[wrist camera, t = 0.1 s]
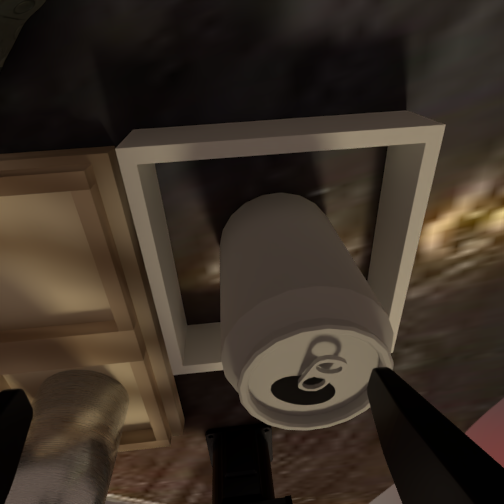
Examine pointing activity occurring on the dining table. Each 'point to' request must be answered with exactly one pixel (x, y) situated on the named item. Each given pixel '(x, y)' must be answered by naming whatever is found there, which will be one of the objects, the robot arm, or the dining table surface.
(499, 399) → the dining table surface
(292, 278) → the can
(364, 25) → the dining table surface
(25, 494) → the steel billet
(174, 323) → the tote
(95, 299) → the wooden divided tray
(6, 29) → the mobile phone
